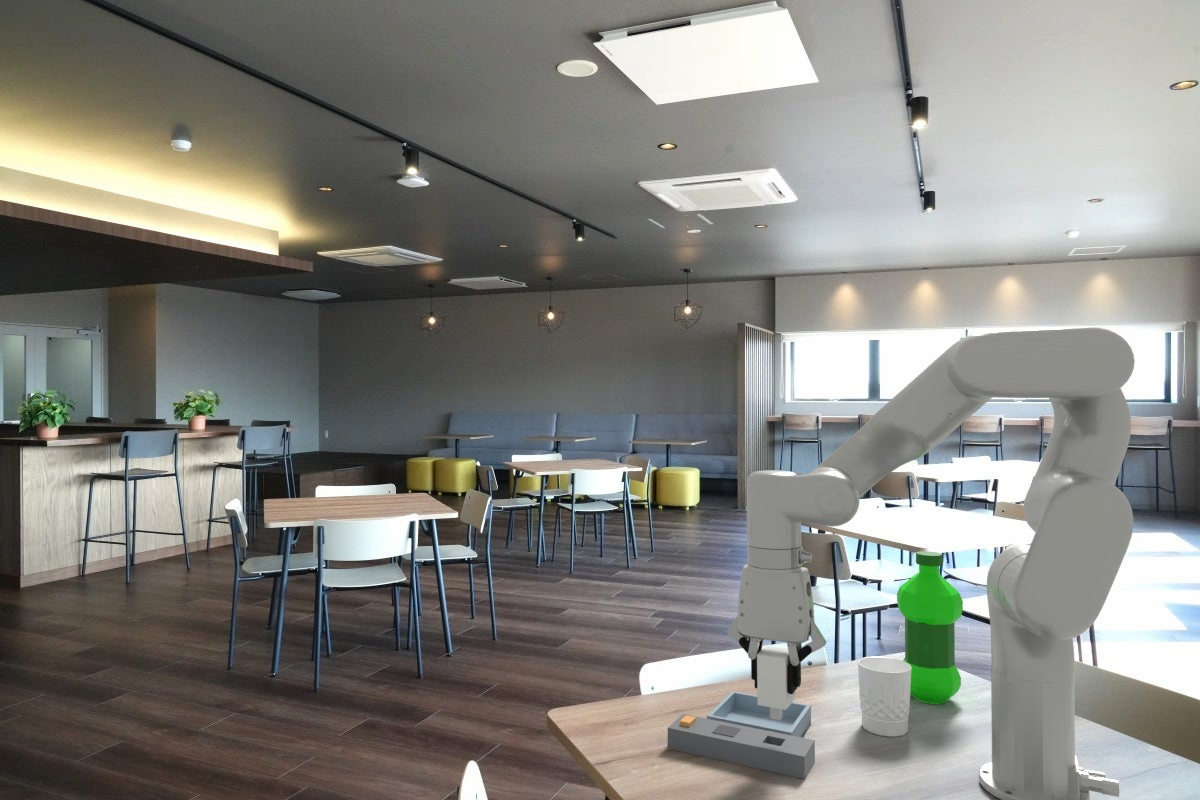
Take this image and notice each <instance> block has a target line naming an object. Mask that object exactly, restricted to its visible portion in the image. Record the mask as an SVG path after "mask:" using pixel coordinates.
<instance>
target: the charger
mask: <svg viewBox="0 0 1200 800" xmlns="http://www.w3.org/2000/svg"><path fill="white" fill-rule="evenodd" d="M789 659H790V657H789V652H788V648H786V647H778V646H771V645H770V646H769V645H766V646H765V647H762V650H761V651H760V652H759V653H758V654H757V688H756V690H757V693H756V695H757V696H758V705H761V706H766V707H770V719H776V720H781V718H782V717H783V709H784V710H786V709H787V708H788V707H789V705H790V704H791V703H792V702H794V700H795V697H796V696H795V692H794V693H793V694H789V693H788V692H787V666H788V664H789Z"/></svg>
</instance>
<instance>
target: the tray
mask: <svg viewBox="0 0 1200 800" xmlns="http://www.w3.org/2000/svg"><path fill="white" fill-rule="evenodd" d="M706 719H711V720H716V721H721V722H726V723H731V724H736V725H741V726H746V727H751V728H756V729H762V730H767V731H772V732H777V733H782V734H787V735H792V736H797V737H802V738H804V736H805V734H806V733H807V731H808V729H809V728H810V727H811V725H812V705H811V704H807V703H801V702H797V701H793V702H792V703H791V704H790V705H789V707H788V708H787V709H786V710H784V709H783V717H782V718H781V720H776V719H770V707H766V706H761V705H758V696H757V694H751V693H750V694H749V693H745V692H740V691H734V690H732V691H730V692H729V693H728V694H727V696H725V697H724V698H723V699H722V700H721V701H720V702H719V703H718V704H717V705H716V706H715V707H714V708H713V709H712V710H711V711H710V712H709V713H708V714H707V715H706Z"/></svg>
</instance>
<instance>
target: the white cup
mask: <svg viewBox="0 0 1200 800" xmlns="http://www.w3.org/2000/svg"><path fill="white" fill-rule="evenodd" d="M857 667H858V668H857V669H858V672H857V673H858V688H859V690H858V691H859V692H858V693H859V701H860V702H859V703H860V709H861V723H862V724H861V725H862V728H863V729H865V730H866V731H867V732H869V733H872V734H874V735H876V736H881V737H893V738H894V737H901V736H904V735H906V734H907V733H908V732H909V714H910V704H911V670H912V667H911V665H910V664H908V663H906V662H904V661H903V660H901V659H898V658H894V657H887V656H875V655H874V656H866V657H865V656H864V657H862V658H859V659H858V661H857Z"/></svg>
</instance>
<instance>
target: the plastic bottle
mask: <svg viewBox="0 0 1200 800" xmlns="http://www.w3.org/2000/svg"><path fill="white" fill-rule="evenodd" d="M943 561H944V560H943V554H942V553H940V552H935V551H926V550H925V551H924V550H923V551H917V552H915V564H917V565H918V573H916V574H914V575H913V576H912V577H910V578H909V579H907V581H905V582H904V583H903V584H902V585H900V586H899V588H898V590H897V593H896V603H897V607H898V610H899V611H900V612H901V614H902V615H903V616H904V658H903V660H902V661H904V662H906V663H908V664H910V665H911V667H912V670H911V694H910V696H912V697H913V698H914V697H915V698H914V699H915V700H916V699H917V700H916V701H918V700H919V702H921V701H922V702H921V703H923V702H926V703H925V704H929V703H931V704H930V705H942V704H941V703H943V704H945V703H946V702H947V701H948V700H950V699H951V698H952V697H953V696H956V694H957V693H958V692H959V690H960V688H961V686H962V677H961V675H960V672H959V670H958V668H957V665H955V664H956V660H955V659H956V658H955V656H956V654H955V650H956V649H955V648H956V647H955V646H956V645H955V643H956V642H955V622H957V621H958V620H959V619H960V618H961V617H962V615H963V609H964V605H963V599H962V596H961V593H960V592H959V591H958V590H957V589H956V588H955V587H954V586H953V585H952V584H951V583H950V582H949V581H947V580H946V578H945V577H943V576H942V575H941V574H940V567H941V566H943ZM945 701H946V702H945ZM944 702H945V703H944Z"/></svg>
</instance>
